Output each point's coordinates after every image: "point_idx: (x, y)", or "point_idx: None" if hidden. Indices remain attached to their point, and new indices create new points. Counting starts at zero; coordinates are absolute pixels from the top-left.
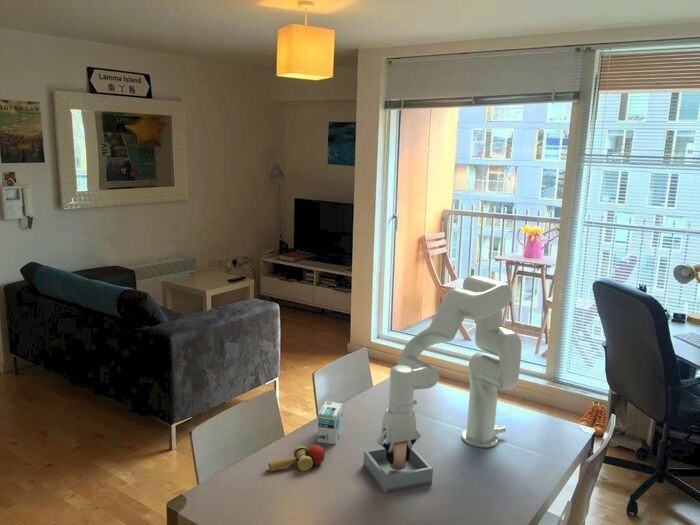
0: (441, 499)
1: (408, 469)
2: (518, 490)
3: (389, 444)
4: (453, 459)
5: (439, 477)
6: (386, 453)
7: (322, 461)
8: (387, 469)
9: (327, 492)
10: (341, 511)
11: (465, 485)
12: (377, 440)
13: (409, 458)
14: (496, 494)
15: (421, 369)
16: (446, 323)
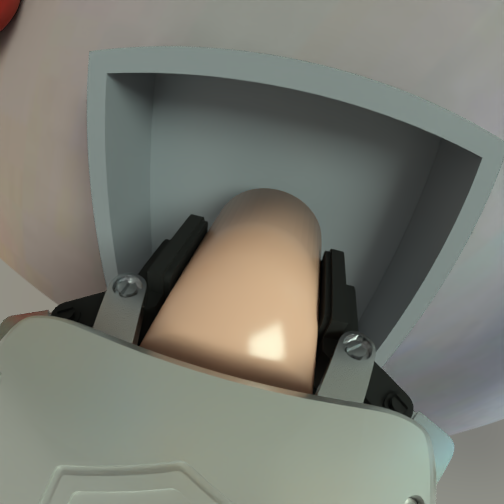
0: None
1: (341, 242)
2: (473, 413)
3: (138, 323)
4: None
5: (415, 324)
6: (147, 267)
7: (10, 17)
8: (230, 178)
9: (7, 184)
10: (34, 268)
11: (426, 377)
12: (1, 334)
13: (433, 168)
14: (433, 412)
15: None
16: None
